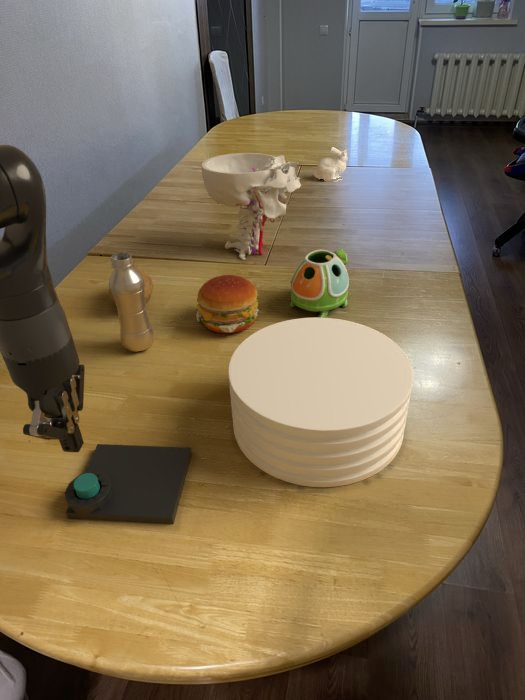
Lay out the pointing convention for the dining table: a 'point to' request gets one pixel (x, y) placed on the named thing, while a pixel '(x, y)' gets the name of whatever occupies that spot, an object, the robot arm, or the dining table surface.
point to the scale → (133, 484)
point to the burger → (227, 304)
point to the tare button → (86, 486)
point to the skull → (250, 192)
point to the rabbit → (332, 166)
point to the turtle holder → (320, 282)
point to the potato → (147, 285)
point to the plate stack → (319, 400)
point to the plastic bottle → (130, 303)
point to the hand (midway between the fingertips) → (74, 448)
